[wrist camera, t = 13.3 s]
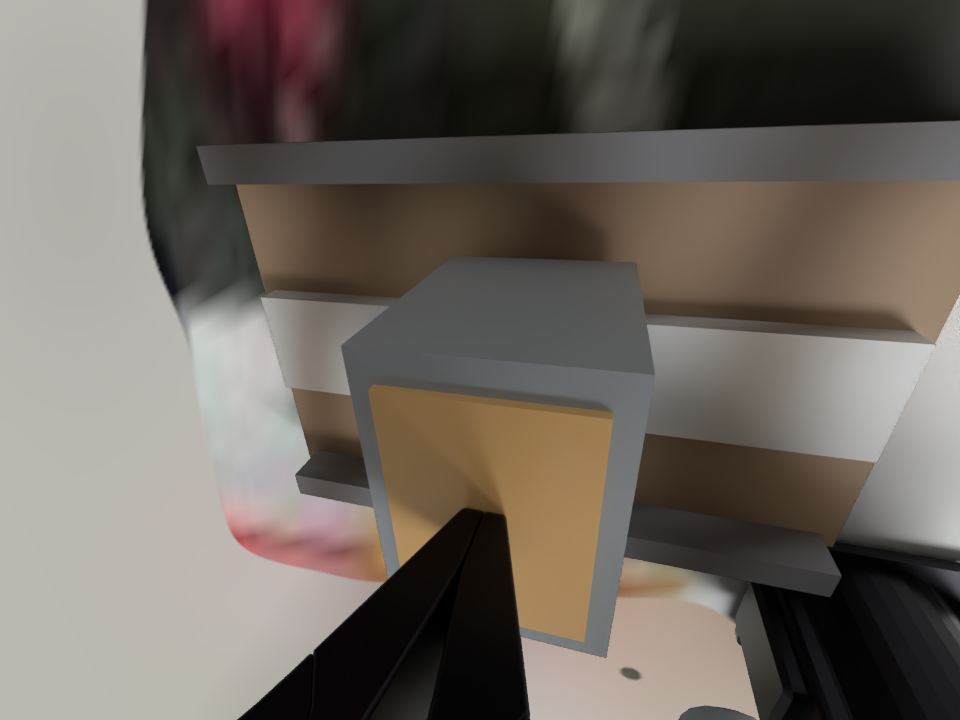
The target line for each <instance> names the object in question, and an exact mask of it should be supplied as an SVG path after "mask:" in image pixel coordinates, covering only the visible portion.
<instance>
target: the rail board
mask: <svg viewBox="0 0 960 720" xmlns="http://www.w3.org/2000/svg"><path fill="white" fill-rule="evenodd" d="M196 147H197V151H198V154H199V157H200V161H201V164H202V167H203V171H204V174H205V177H206V180H207V184H208V185H236V186H237V190H238V194H239V197H240V201H241V205H242V208H243V212H244V216H245V219H246V223H247V227H248V230H249V234H250V238H251V241H252V245H253V249H254V252H255V256H256V260H257V263H258V267H259V271H260V274H261V278H262V282H263V285H264V289H265V293H266V295H265V296H263V297H261V299H262V303H263V307H264V310H265V314H266V317H267V321H268V325H269V328H270V332H271V335H272V339H273V342H274V346H275V350H276V353H277V357H278V360H279V364H280V368H281V371H282V375H283V378H284V382H285V385H286V387H290V388H292V392H293V395H294V399H295V403H296V406H297V410H298V414H299V417H300V421H301V425H302V428H303V432H304V436H305V439H306V443H307V447H308V450H309V454H310V457H311V458H310V459H309V460H308V461H307V463H306V464H305V465H304V466H303V467H302V468H301V469H300V470H299V471H298V472H297V473H296V475H295V476H296V480H297V483H298V486H299V490H300V493H302V494H307V495H312V496H317V497H322V498H327V499H332V500H337V501H342V502H348V503H353V504H358V505H363V506H368V507H373V502H372V497H371V492H370V487H369V482H368V477H367V473H366V468H365V463H364V458H363V453H362V448H361V443H360V438H359V433H358V428H357V424H356V419H355V414H354V409H353V404H352V399H351V394H350V389H349V384H348V379H347V375H346V370H345V365H344V360H343V355H342V350H341V345H342V344H343V343H344V342H346V341H347V340H348V339H349V338H351V337H352V336H353V335H354V334H356V333H357V332H358V331H359V330H361V329H362V328H363V327H364V326H366V325H367V324H368V323H369V322H371V321H372V320H373V319H374V318H376V317H377V316H378V315H379V314H381V313H382V312H383V311H384V310H386V309H387V308H388V307H390V306H391V305H392V304H393V303H395V302H396V301H397V300H398V299H400V298H401V297H402V296H403V295H405V294H406V293H407V292H408V291H410V290H411V289H412V288H413V287H415V286H416V285H417V284H418V283H420V282H421V281H422V280H423V279H425V278H426V277H427V276H428V275H430V274H431V273H432V272H433V271H435V270H436V269H437V268H438V267H440V266H441V265H442V264H443V263H445V262H446V261H447V260H448V259H450V258H451V257H452V256H464V257H494V258H524V259H554V260H584V261H614V262H637V268H638V274H639V280H640V286H641V292H642V298H643V304H644V310H645V316H646V322H647V328H648V334H649V340H650V346H651V352H652V358H653V364H654V370H655V380H654V385H653V391H652V397H651V403H650V408H649V414H648V420H647V426H646V431H645V437H644V443H643V449H642V455H641V460H640V466H639V472H638V478H637V483H636V489H635V495H634V501H633V506H632V512H631V518H630V524H629V529H628V535H627V541H626V547H625V553H624V557H628V558H633V559H638V560H643V561H648V562H653V563H658V564H663V565H668V566H673V567H678V568H684V569H689V570H694V571H699V572H704V573H709V574H714V575H719V576H724V577H729V578H735V579H740V580H745V581H750V582H755V583H760V584H765V585H770V586H775V587H780V588H785V589H791V590H796V591H801V592H806V593H811V594H816V595H821V596H826V597H831V595H832V593H833V591H834V590H835V588H836V586H837V584H838V582H839V580H840V579H841V577H842V576H841V574H840V572H839V570H838V568H837V566H836V564H835V562H834V560H833V558H832V556H831V554H830V552H829V550H828V548H827V546H829V547H833V545H834V543H835V541H836V539H837V537H838V535H839V533H840V531H841V529H842V527H843V525H844V523H845V521H846V519H847V517H848V515H849V513H850V511H851V509H852V507H853V505H854V503H855V501H856V499H857V497H858V495H859V493H860V491H861V489H862V487H863V486H864V484H865V482H866V480H867V478H868V476H869V474H870V472H871V470H872V468H873V466H874V464H875V463H877V461H878V459H879V457H880V455H881V453H882V451H883V449H884V447H885V445H886V443H887V441H888V439H889V437H890V435H891V433H892V431H893V429H894V427H895V425H896V423H897V421H898V419H899V417H900V415H901V413H902V411H903V409H904V407H905V405H906V403H907V401H908V399H909V397H910V395H911V393H912V391H913V389H914V387H915V385H916V383H917V381H918V379H919V377H920V375H921V373H922V371H923V369H924V367H925V366H926V364H927V362H928V360H929V358H930V356H931V354H932V352H933V350H934V348H935V346H936V344H935V342H936V340H937V338H938V336H939V334H940V332H941V330H942V328H943V326H944V324H945V322H946V320H947V318H948V316H949V314H950V312H951V310H952V308H953V306H954V304H955V302H956V301H957V299H958V297H959V295H960V120H953V121H923V122H893V123H863V124H833V125H803V126H773V127H742V128H712V129H682V130H652V131H622V132H592V133H562V134H532V135H502V136H472V137H442V138H412V139H382V140H352V141H322V142H292V143H262V144H234V145H212V146H196ZM373 508H374V507H373Z"/></svg>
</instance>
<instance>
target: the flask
mask: <svg viewBox="0 0 960 720" xmlns="http://www.w3.org/2000/svg"><path fill="white" fill-rule="evenodd" d="M679 720H756V719H755V718H753V717H751V716H748V715H746V714H743V713H740V712H738V711H735V710H731V709H726V708H720V707H711V706H701V707H695V708H690V709H688V710H687V711H686V712H684V713H683V714H682V715H681V716H680V718H679Z"/></svg>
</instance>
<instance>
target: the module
mask: <svg viewBox="0 0 960 720" xmlns="http://www.w3.org/2000/svg"><path fill="white" fill-rule="evenodd" d="M341 350H342V355H343V360H344V365H345V370H346V375H347V379H348V384H349V389H350V394H351V399H352V404H353V409H354V414H355V419H356V424H357V428H358V433H359V438H360V443H361V448H362V453H363V458H364V463H365V468H366V473H367V477H368V482H369V487H370V492H371V497H372V502H373V507H374V512H375V517H376V521H377V526H378V531H379V536H380V541H381V546H382V551H383V556H384V561H385V566H386V570H387V575H388V579H389V578H390V577H391V576H392V575H393V574H394V573H395V572H396V571H397V570H398V569H399V568H400V567H401V566H402V565H403V564H404V563H405V562H407V561H408V560H409V559H410V558H411V557H412V556H413V555H414V554H415V553H416V552H417V551H418V550H419V549H420V548H421V547H422V546H423V545H424V544H425V543H426V542H427V541H428V540H430V539H431V538H432V537H433V536H434V535H435V534H436V533H437V532H438V531H439V530H440V529H441V528H442V527H443V526H444V525H445V524H446V523H447V522H448V521H449V520H450V519H451V518H452V517H454V516H455V515H456V514H457V513H458V512H459V511H460V510H461V509H463V508H471V509H476V510H481V511H483V512H484V514H485V513H486V512H493V513H498V514H503V515H505V516H506V519H507V526H508V535H509V543H510V551H511V560H512V568H513V577H514V585H515V593H516V602H517V610H518V618H519V627H520V635H521V637H525V638H529V639H533V640H537V641H541V642H545V643H548V644H553V645H556V646H560V647H564V648H568V649H573V650H576V651H580V652H584V653H588V654H592V655H596V656H600V657H604V658H606V656H607V651H608V645H609V639H610V633H611V627H612V622H613V616H614V610H615V604H616V599H617V593H618V587H619V581H620V576H621V570H622V564H623V558H624V553H625V547H626V541H627V535H628V529H629V524H630V518H631V512H632V506H633V501H634V495H635V489H636V483H637V478H638V472H639V466H640V460H641V455H642V449H643V443H644V437H645V431H646V426H647V420H648V414H649V408H650V403H651V397H652V391H653V385H654V380H655V370H654V364H653V358H652V352H651V346H650V340H649V334H648V328H647V322H646V316H645V310H644V304H643V298H642V292H641V286H640V280H639V274H638V268H637V262H614V261H584V260H554V259H524V258H494V257H464V256H452V257H451V258H450V259H448V260H447V261H446V262H445V263H443V264H442V265H441V266H440V267H438V268H437V269H436V270H435V271H433V272H432V273H431V274H430V275H428V276H427V277H426V278H425V279H423V280H422V281H421V282H420V283H418V284H417V285H416V286H415V287H413V288H412V289H411V290H410V291H408V292H407V293H406V294H405V295H403V296H402V297H401V298H400V299H398V300H397V301H396V302H395V303H393V304H392V305H391V306H390V307H388V308H387V309H386V310H384V311H383V312H382V313H381V314H379V315H378V316H377V317H376V318H374V319H373V320H372V321H371V322H369V323H368V324H367V325H366V326H364V327H363V328H362V329H361V330H359V331H358V332H357V333H356V334H354V335H353V336H352V337H351V338H349V339H348V340H347V341H346V342H344V343H343V344H342V345H341Z"/></svg>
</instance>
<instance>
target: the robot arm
mask: <svg viewBox="0 0 960 720" xmlns="http://www.w3.org/2000/svg"><path fill="white" fill-rule="evenodd" d="M827 548H828V550H829V552H830V554H831V556H832V558H833V560H834V562H835V564H836V566H837V568H838V570H839V572H840V574H841V576H842V577H841V579H840V580H839V582H838V584H837V586H836V588H835V590H834V591H833V593H832V595H831V597H826V596H821V595H816V594H811V593H806V592H801V591H796V590H791V589H785V588H780V587H775V586H770V585H765V584H760V583H755V582H750V581H749V584H748V586H747V589H746V591H745V594H744V596H743V599H742V601H741V604H740V606H739V609H738V612H737V614H736V617H735V621H736V625H737V626H736V628H735V635H736V639H737V642H738V644H739V645H741V646H742V649H743V653H744V657H745V661H746V665H747V669H748V674H749V678H750V682H751V686H752V690H753V693H754V698H755V702H756V706H757V710H758V714H759V718H760V720H960V563H955V562H950V561H944V560H938V559H932V558H926V557H920V556H914V555H908V554H902V553H896V552H890V551H885V550H879V549H873V548H867V547H861V546H855V545H849V544H843V543H837V542H835V543H834V545H833V547H829V546H827ZM237 720H530V711H529V702H528V694H527V686H526V677H525V669H524V660H523V652H522V644H521V635H520V627H519V618H518V610H517V602H516V593H515V585H514V577H513V568H512V560H511V551H510V543H509V535H508V526H507V519H506V516H505V515H503V514H498V513H493V512H486V513H485V514H484V512H483V511H481V510H476V509H471V508H463V509H461V510H460V511H459V512H458V513H457V514H456V515H455V516H454V517H452V518H451V519H450V520H449V521H448V522H447V523H446V524H445V525H444V526H443V527H442V528H441V529H440V530H439V531H438V532H437V533H436V534H435V535H434V536H433V537H432V538H431V539H430V540H428V541H427V542H426V543H425V544H424V545H423V546H422V547H421V548H420V549H419V550H418V551H417V552H416V553H415V554H414V555H413V556H412V557H411V558H410V559H409V560H408V561H407V562H405V563H404V564H403V565H402V566H401V567H400V568H399V569H398V570H397V571H396V572H395V573H394V574H393V575H392V576H391V577H390V578H389V579H388V580H387V581H386V582H385V583H384V584H382V585H381V586H380V587H379V588H378V589H377V590H376V591H375V592H374V593H373V594H372V595H371V596H370V597H369V598H368V599H367V600H366V601H365V602H364V603H363V604H362V605H361V606H359V607H358V609H356V610H355V611H354V612H353V613H352V614H351V615H350V616H349V617H348V618H347V619H346V620H345V621H344V622H343V623H342V624H341V625H340V626H339V627H338V628H336V629H335V630H334V631H333V633H331V634H330V635H329V636H328V637H327V638H326V639H325V640H324V641H323V642H322V643H321V644H320V645H319V646H318V647H317V648H316V649H315V650H314V653H313V654H309V655H308V656H307V657H306V658H305V659H304V660H303V661H302V662H301V663H300V664H299V665H298V666H296V667H295V668H294V669H293V670H292V671H291V672H290V673H289V674H288V675H287V676H286V677H285V678H284V679H283V680H282V681H280V682H279V683H278V684H277V685H276V686H275V687H274V688H273V689H272V690H271V691H269V693H268V694H266V695H265V696H264V697H263V698H262V699H261V700H260V701H259V702H258V703H257V704H255V705H254V706H253V707H252V708H251V709H249V710H248V711H247V712H246V713H245V714H243V715H242V716H241V717H240V718H239V719H237Z"/></svg>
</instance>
